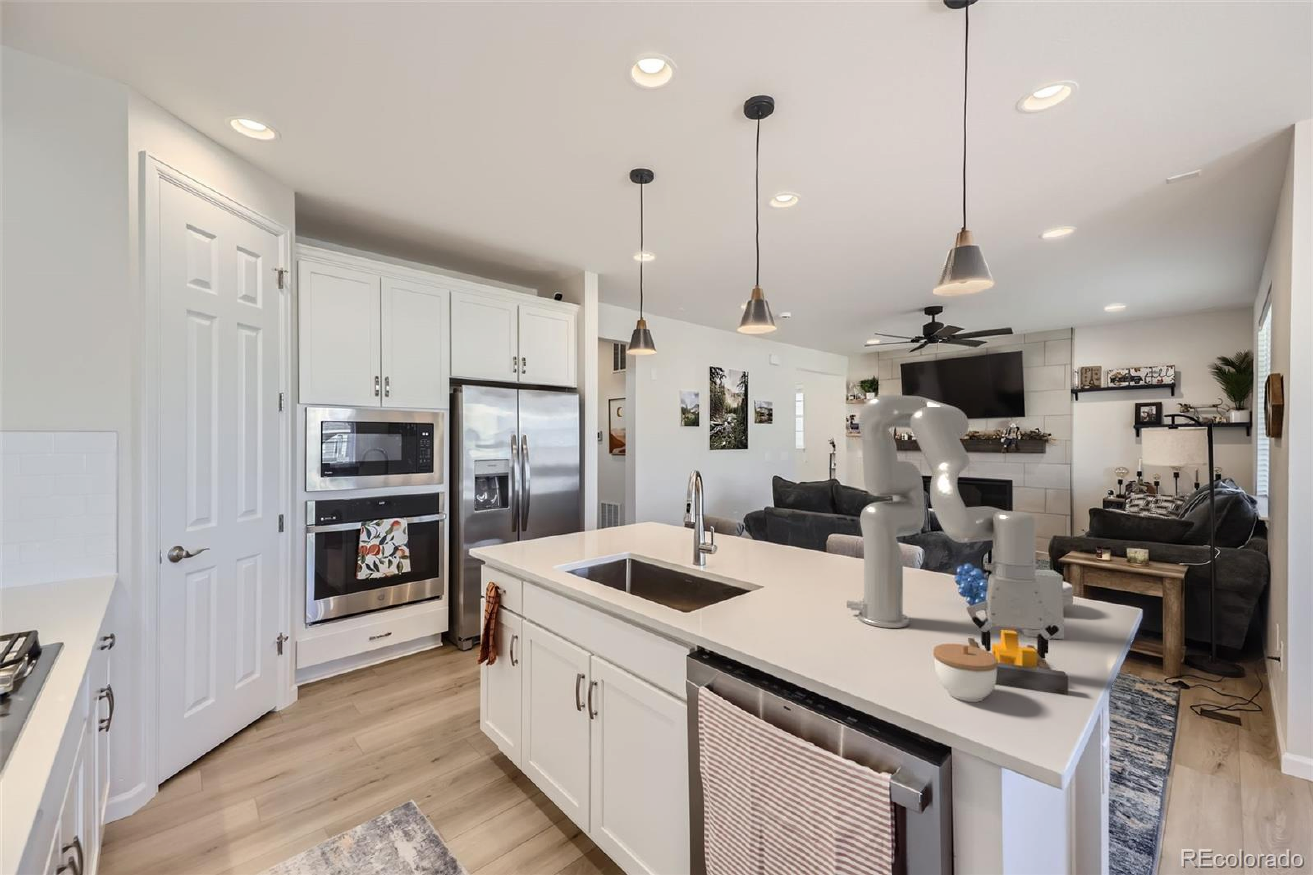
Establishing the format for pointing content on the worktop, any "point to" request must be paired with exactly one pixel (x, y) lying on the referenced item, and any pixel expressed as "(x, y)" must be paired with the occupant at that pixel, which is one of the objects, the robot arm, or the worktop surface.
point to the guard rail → (1031, 676)
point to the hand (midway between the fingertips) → (1013, 652)
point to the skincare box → (1050, 600)
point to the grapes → (971, 584)
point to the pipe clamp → (1014, 651)
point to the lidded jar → (965, 671)
